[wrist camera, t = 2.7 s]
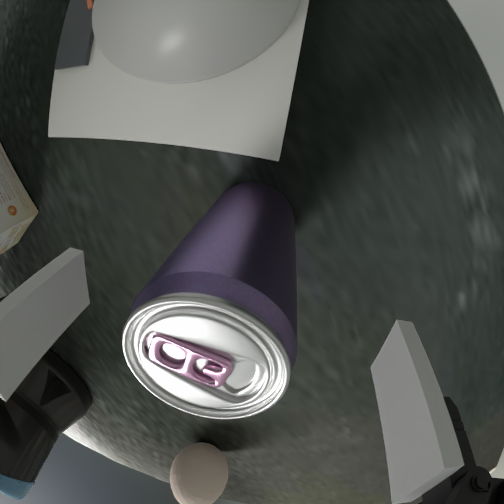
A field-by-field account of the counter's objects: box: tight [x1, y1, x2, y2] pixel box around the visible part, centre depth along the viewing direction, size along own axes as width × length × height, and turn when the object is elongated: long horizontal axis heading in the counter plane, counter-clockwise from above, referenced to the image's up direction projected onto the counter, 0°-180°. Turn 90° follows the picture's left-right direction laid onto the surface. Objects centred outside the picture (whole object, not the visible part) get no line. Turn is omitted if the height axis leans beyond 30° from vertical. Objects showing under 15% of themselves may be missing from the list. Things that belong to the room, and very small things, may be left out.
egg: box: [170, 442, 228, 504], centre depth 32 cm, size 8×8×11 cm
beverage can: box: [122, 182, 297, 419], centre depth 16 cm, size 6×6×15 cm
